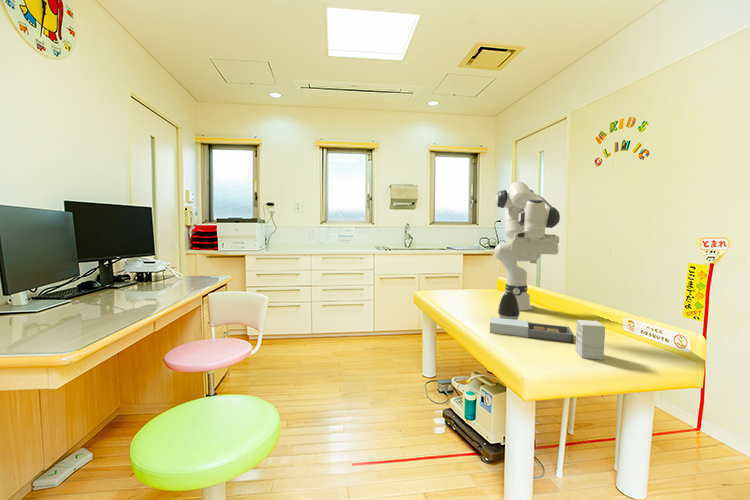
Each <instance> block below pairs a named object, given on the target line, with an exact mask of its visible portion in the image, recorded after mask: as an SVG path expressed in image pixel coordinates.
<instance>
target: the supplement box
mask: <svg viewBox="0 0 750 500" xmlns="http://www.w3.org/2000/svg"><path fill="white" fill-rule="evenodd" d="M575 328H576V333H575V352H576V353H577V354H578V356H579V357H580V358H581V359H587V360H588V359H589V360H598V361H599V360H602V361H604V360H605V359H604V358H605V357H604V355H605V340H606V326H605V325H603V323H601V322H599V321H598V320H588V319H586V320H584V319H576V327H575Z"/></svg>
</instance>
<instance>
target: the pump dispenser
mask: <svg viewBox="0 0 750 500" xmlns="http://www.w3.org/2000/svg"><path fill="white" fill-rule="evenodd" d="M505 291H506V290H505ZM505 291H504V292H505ZM504 292H503V293H504ZM497 311H498V312H497V313H498V316H499V318H504V319H513V320H519V319H518V318H519V317H520V311H519V305H518V301H517V298H516V296H515V294H514V293H512V292H510V291H509V292H507V291H506V292H505V293H504V295H503V296H502V295H501V298H500V301H499V304H498V310H497Z"/></svg>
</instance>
